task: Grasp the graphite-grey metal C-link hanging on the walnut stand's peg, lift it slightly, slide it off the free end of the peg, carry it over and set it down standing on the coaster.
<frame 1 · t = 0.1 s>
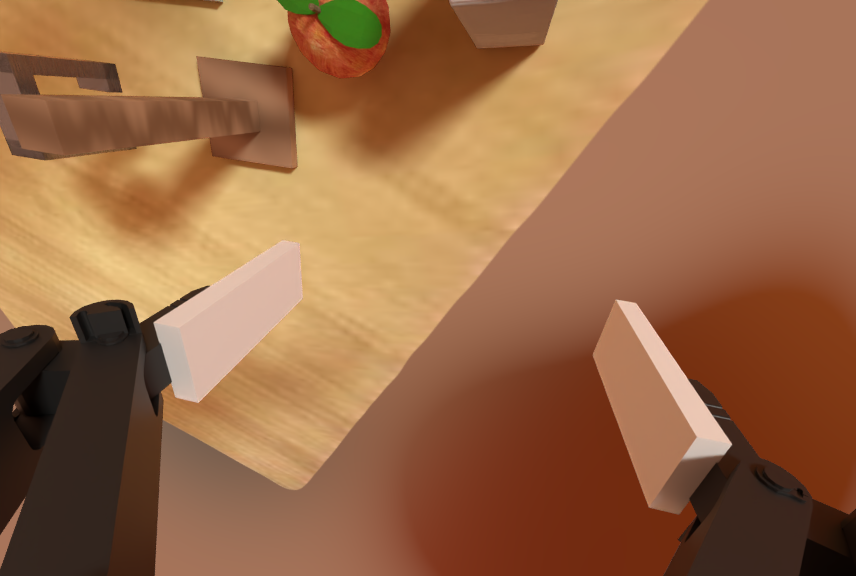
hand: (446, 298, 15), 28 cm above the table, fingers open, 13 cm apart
c link: (111, 106, 33), point 9 cm above the table, touching stand
fruit: (357, 29, 36), on the table
stand: (253, 114, 41), on the table
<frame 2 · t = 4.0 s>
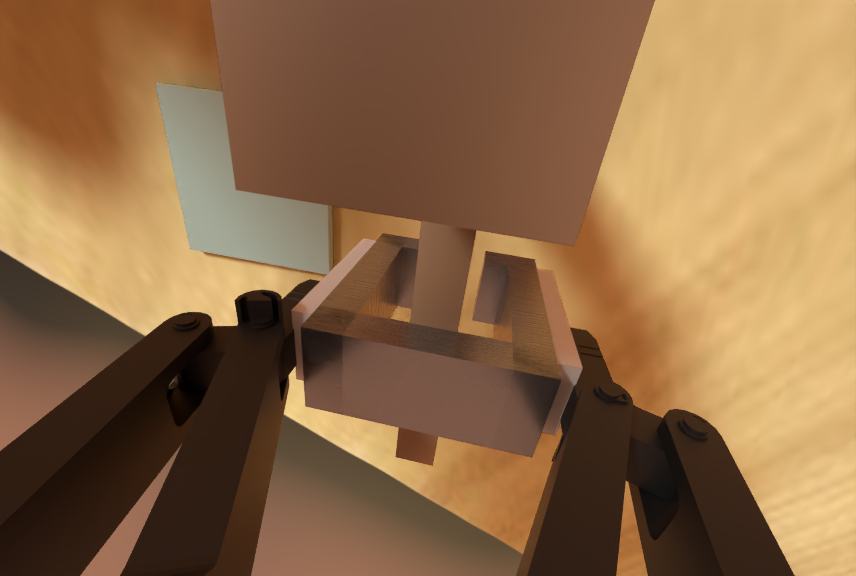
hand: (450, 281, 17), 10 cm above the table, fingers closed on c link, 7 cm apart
coaster: (255, 184, 27), on the table
c link: (452, 275, 17), point 9 cm above the table, touching gripper, stand
stand: (489, 90, 22), on the table
when the fingers open (3 cm above the table, at t = 13.0 s): c link drops 1 cm, resting on coaster.
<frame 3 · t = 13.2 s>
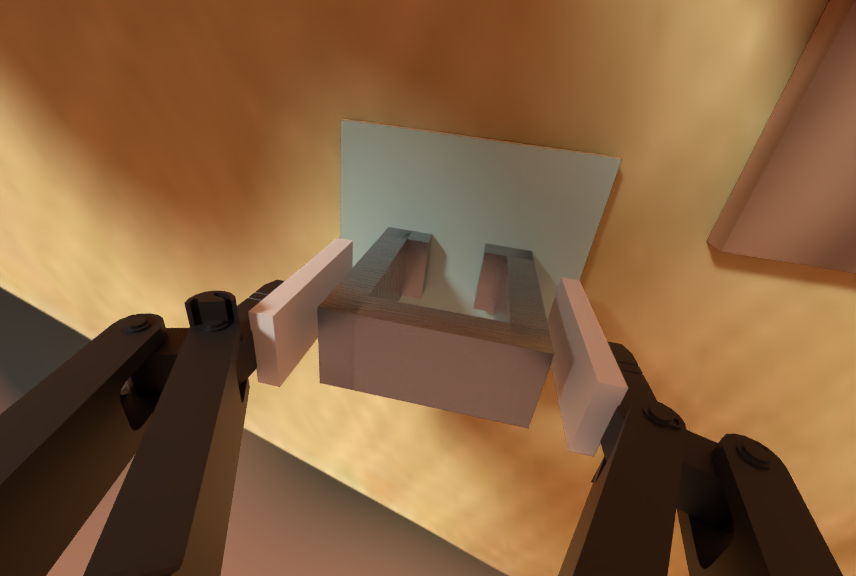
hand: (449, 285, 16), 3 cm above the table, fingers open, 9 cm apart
coaster: (456, 260, 19), on the table
c link: (454, 266, 18), point 1 cm above the table, touching coaster
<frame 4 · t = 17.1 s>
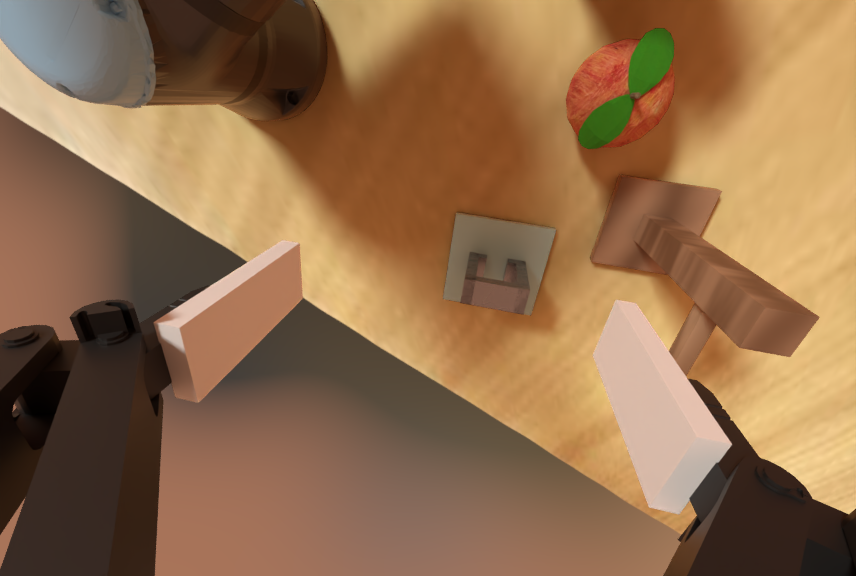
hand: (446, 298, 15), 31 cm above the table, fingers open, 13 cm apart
coaster: (495, 264, 47), on the table
c link: (495, 267, 46), point 1 cm above the table, touching coaster
fruit: (603, 98, 37), on the table
stand: (648, 225, 42), on the table
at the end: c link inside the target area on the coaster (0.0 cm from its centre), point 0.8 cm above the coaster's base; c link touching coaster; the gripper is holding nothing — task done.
